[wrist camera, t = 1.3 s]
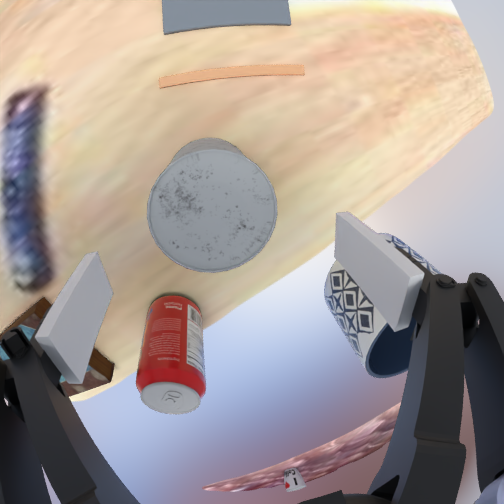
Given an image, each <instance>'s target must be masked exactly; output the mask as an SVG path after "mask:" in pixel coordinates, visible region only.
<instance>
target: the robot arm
mask: <svg viewBox="0 0 504 504" xmlns="http://www.w3.org/2000/svg"><path fill="white" fill-rule="evenodd" d="M334 257H335V258H336V259H337V261H338V262H339V263H340V264H341V265H342V267H343V268H344V269H345V270H346V271H347V273H348V274H349V275H350V276H351V277H352V279H353V280H354V281H355V282H356V283H357V285H358V286H359V287H360V288H361V290H362V291H363V292H364V293H365V295H366V296H367V297H368V298H369V300H370V301H371V302H372V303H373V305H374V306H375V307H376V308H377V310H378V311H379V312H380V314H381V315H382V316H383V317H384V319H385V320H386V321H387V323H388V324H389V325H390V326H391V328H392V329H393V330H394V332H396V331H399V330H402V329H404V328H407V327H409V324H410V321H411V318H412V316H413V318H414V319H415V320H416V321H417V322H416V325H415V328H414V331H413V333H412V336H411V338H410V340H411V341H412V340H413V344H412V350H411V357H410V363H409V368H408V374H407V379H406V384H405V389H404V393H403V398H402V401H401V406H400V409H399V413H398V417H397V421H396V424H395V428H394V431H393V434H392V438H391V441H390V444H389V447H388V450H387V453H386V456H385V458H384V462H383V464H382V466H381V469H380V470H379V472H378V473H377V475H376V477H375V478H374V480H373V482H372V484H371V486H370V488H369V490H368V493H367V494H343V493H342V490H340V491H337V492H334V493H331V494H328V495H324V496H321V497H318V498H314V499H310V500H307V501H303V502H301V503H299V504H455V501H456V498H457V494H458V490H459V487H460V482H461V478H462V474H463V469H464V464H465V458H466V447H465V445H464V444H461V443H460V441H459V435H460V427H461V418H462V408H463V394H464V374H465V378H466V383H467V388H468V393H469V399H470V404H471V410H472V417H473V425H474V433H475V443H476V458H477V473H478V481H479V487H480V491H481V495H480V497H479V499H477V500H476V501H475V503H474V504H504V302H503V300H502V298H501V296H500V295H499V293H498V291H497V289H496V288H495V286H494V284H493V283H492V281H491V280H490V279H489V278H488V277H487V276H486V275H484V274H482V273H472V274H470V275H469V278H468V281H467V283H457V282H456V281H455V280H454V279H453V278H451V277H449V276H447V275H444V274H435V275H433V274H432V273H431V272H430V271H429V270H428V269H427V268H425V267H424V266H423V265H422V264H421V263H420V262H417V260H416V259H415V258H414V257H412V256H411V255H410V254H409V253H408V252H406V251H405V250H403V249H401V248H398V247H393V246H392V245H391V244H390V243H388V242H387V241H386V240H385V239H384V238H382V237H381V236H380V235H379V234H377V233H376V232H375V231H373V230H372V229H371V228H369V227H368V226H367V225H366V224H364V223H363V222H362V221H360V220H359V219H358V218H356V217H355V216H354V215H352V214H351V213H350V212H340V213H336V234H335V255H334ZM112 295H113V291H112V288H111V286H110V283H109V281H108V278H107V276H106V273H105V271H104V268H103V265H102V263H101V260H100V257H99V254H98V251H97V252H92V253H87V254H86V255H85V256H84V258H83V259H82V260H81V262H80V263H79V265H78V266H77V268H76V269H75V271H74V272H73V274H72V275H71V277H70V278H69V280H68V281H67V283H66V284H65V286H64V287H63V289H62V291H61V292H60V294H59V295H58V297H57V299H56V300H55V302H54V303H53V304H52V305H51V306H50V307H49V308H48V309H47V310H46V312H45V314H44V315H43V317H42V318H43V319H41V321H40V322H39V325H38V326H37V328H36V330H35V331H34V333H33V335H32V337H31V339H30V341H29V340H28V338H27V336H26V335H25V333H24V332H23V330H22V329H21V327H18V326H17V327H13V328H11V329H9V330H8V331H7V332H5V334H4V335H3V336H2V338H1V340H0V346H1V347H2V349H3V350H4V352H5V353H6V354H7V356H8V357H9V358H10V359H7V360H2V358H1V357H0V504H52V503H51V500H50V496H49V493H48V489H47V486H46V482H45V478H44V474H43V470H42V467H43V469H44V471H45V473H46V475H47V477H48V479H49V481H50V483H51V485H52V487H53V489H54V491H55V493H56V495H57V497H58V498H59V500H60V502H61V504H140V503H139V502H138V501H137V500H136V498H135V497H134V496H133V495H132V494H131V493H130V491H129V490H128V489H127V488H126V486H125V485H124V484H123V483H122V481H121V480H120V479H119V477H118V476H117V475H116V474H115V472H114V471H113V469H112V468H111V467H110V465H109V464H108V463H107V461H106V460H105V458H104V457H103V455H102V454H101V452H100V451H99V449H98V448H97V446H96V445H95V443H94V442H93V440H92V438H91V437H90V435H89V433H88V432H87V430H86V428H85V427H84V425H83V423H82V422H81V420H80V418H79V416H78V414H77V412H76V410H75V408H74V407H73V405H72V403H71V401H70V399H69V397H68V395H67V392H66V390H65V388H64V386H63V385H62V384H61V383H60V378H61V375H62V376H63V377H64V378H65V380H66V381H67V382H68V383H69V384H82V383H83V379H84V376H85V373H86V369H87V366H88V363H89V359H90V356H91V353H92V350H93V347H94V344H95V341H96V338H97V335H98V332H99V330H100V327H101V324H102V321H103V319H104V316H105V313H106V311H107V308H108V306H109V303H110V300H111V298H112ZM478 320H479V325H478ZM4 398H5V399H6V400H7V401H8V406H7V405H6V402H5V400H4ZM41 464H42V466H41Z"/></svg>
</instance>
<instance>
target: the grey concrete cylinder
mask: <svg viewBox="0 0 504 504" xmlns="http://www.w3.org/2000/svg"><path fill="white" fill-rule="evenodd" d="M276 218H277V199H276V196H275V192H274V188H273V186H272V184H271V182H270V181H269V179H268V177H267V175H266V174H265V173H264V172H263V171H262V170H261V169H260V168H259V167H258V166H257V164H255V163H254V162H252V161H251V160H249V159H248V158H247V157H246V156H245V155H243V153H242V152H241V151H240V150H239V149H238V148H237V147H236V146H234V145H232V144H231V143H229V142H227V141H224V140H221V139H217V138H203V139H198V140H195V141H193V142H190V143H189V144H187V145H186V146H184V147H182V148H181V149H180V150H179V152H178V153H177V154H176V155H175V156H174V158H173V160H172V161H171V163H170V164H169V165H168V167H167V168H166V169H165V170H164V171H163V172H162V173H161V174H160V176H159V177H158V179H157V180H156V182H155V184H154V186H153V188H152V189H151V193H150V196H149V200H148V205H147V219H148V224H149V228H150V232H151V234H152V236H153V238H154V240H155V242H156V244H157V245H158V247H159V248H160V249H161V250H162V252H163V253H164V254H165V255H166V256H168V257H169V258H170V259H171V260H173V261H174V262H175V263H177V264H179V265H181V266H183V267H185V268H187V269H191V270H195V271H199V272H211V273H214V272H222V271H228V270H230V269H233V268H236V267H239V266H241V265H243V264H244V263H246V262H248V261H250V260H251V259H252V258H253V257H255V256H256V255H257V254H258V253H259V252H260V251H261V250H262V249H263V247H264V246H265V245H266V243H267V242H268V241H269V239H270V237H271V235H272V232H273V230H274V228H275V223H276Z"/></svg>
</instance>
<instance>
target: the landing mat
mask: <svg viewBox="0 0 504 504" xmlns="http://www.w3.org/2000/svg"><path fill="white" fill-rule="evenodd" d="M162 11H163V29H164V35H166V34H171V33H177V32H183V31H189V30H196V29H204V28H213V27H224V26H240V25H289V26H290V25H291V18H290V11H289V5H288V0H162Z"/></svg>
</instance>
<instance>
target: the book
mask: <svg viewBox="0 0 504 504" xmlns="http://www.w3.org/2000/svg"><path fill="white" fill-rule="evenodd" d="M50 306H51V304H50V303H49V302H48V301H47V300H46V299H45V297H44V298H42V299H41V300H40V301H39V302H37V303H36V304H35V305H34V306H33V307H31V308H30V309H29V310H28V311H27V312H26V313H24V314H23V315H22V316H21V317H20V318H19V319H18V320H17V321H15V322H14V323H13V324H12V325H11V326H10V327H9V328H8V329H7V330H6V331H4V332H3V333H2V334H1V335H0V340H1V338H2V336H3V335H4V334H5V332H7V331H8V330H9V329H11V328H13V327H17V326H18V327H21V329H22V330H23V332H24V333H25V335H26V336H27V338H28V340H29V341H30V339H31V337H32V335H33V333H34V331H35V330H36V328H37V326H38V325H39V322H40V321H41V319H43V318H42V317H43V315H44V314H45V312H46V310H47V309H48V308H49V307H50ZM0 357H1V358H2V360H7V359H10V358H9V357H8V356H7V354H6V353H5V352H4V350H3V349H2V347H1V346H0ZM113 371H114V363H113V364H112V363H111V362H110V361H108V360H107V359H106V358H105V357H104V356H103V355H101V354H100V353H99V352H98V351H97V350H96V349H95V348H94V347H93V350H92V353H91V356H90V359H89V363H88V366H87V369H86V373H85V376H84V379H83V383H82V384H69V383H68V382H67V381H66V380H65V378H64V377H63V376H62V375H61V378H60V383H61V384H62V385H63V386H64V388H65V390H66V392H67V395H68V397H69V396H72V395H75V394H78V393H81V392H84V391H87V390H90V389H93V388H96V387H99V386H101V385H104V384H107V383H110V382H111V380H112V376H113Z"/></svg>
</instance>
